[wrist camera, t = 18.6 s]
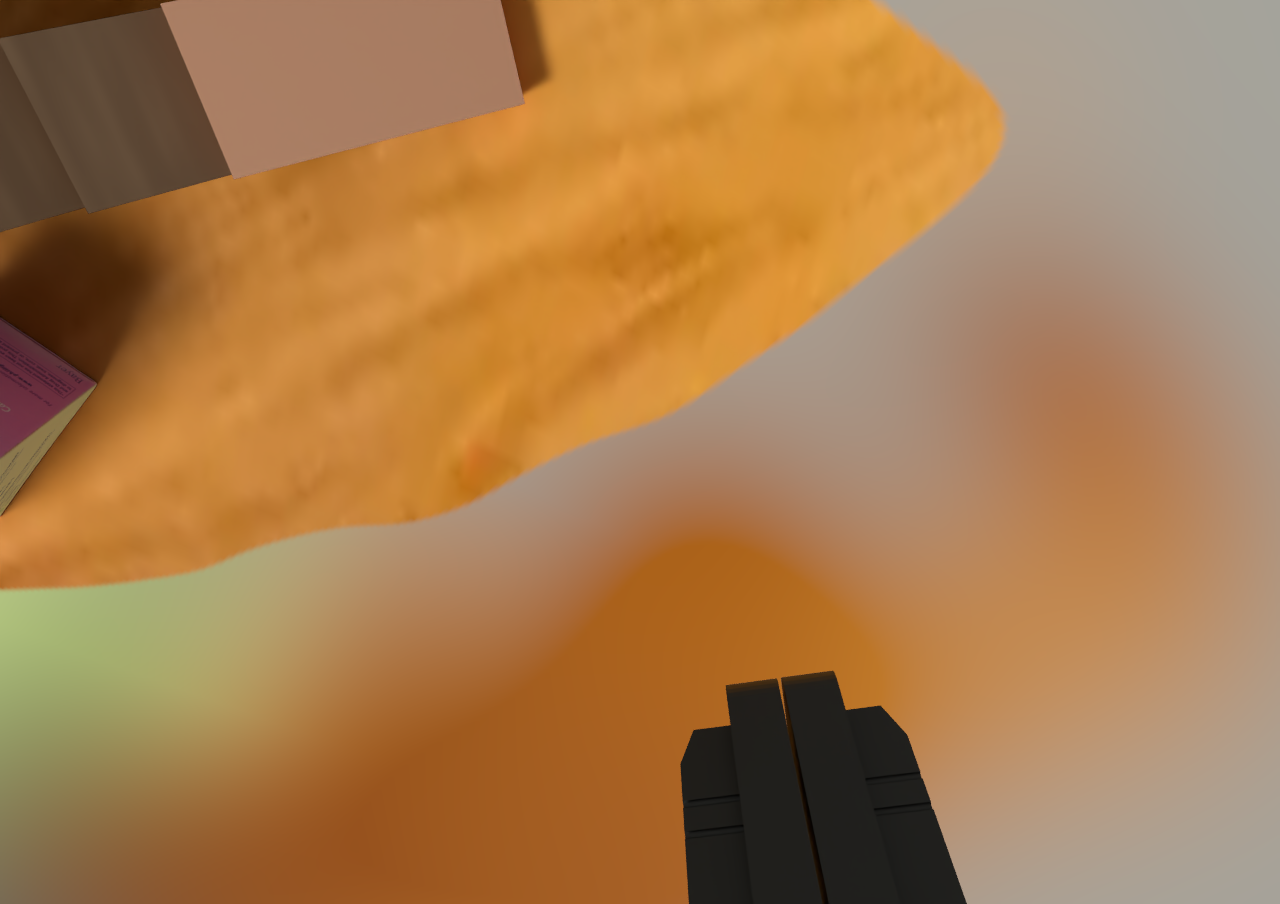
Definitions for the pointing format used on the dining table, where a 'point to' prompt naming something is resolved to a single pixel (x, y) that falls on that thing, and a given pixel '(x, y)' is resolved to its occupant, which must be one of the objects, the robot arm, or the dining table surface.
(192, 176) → the domino
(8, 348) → the box
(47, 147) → the domino
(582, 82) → the dining table surface
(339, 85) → the domino end
